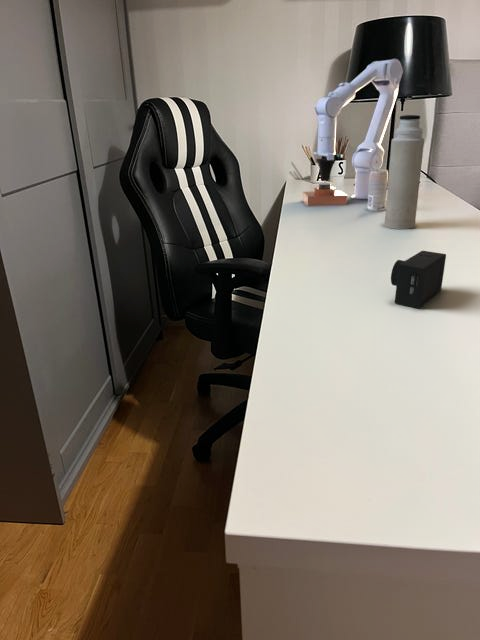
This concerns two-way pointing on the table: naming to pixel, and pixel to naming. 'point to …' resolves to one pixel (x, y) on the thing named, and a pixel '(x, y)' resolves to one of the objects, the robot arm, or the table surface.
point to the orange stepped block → (324, 197)
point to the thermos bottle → (404, 174)
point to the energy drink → (377, 190)
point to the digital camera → (418, 278)
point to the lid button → (324, 186)
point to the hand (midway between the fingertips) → (325, 180)
